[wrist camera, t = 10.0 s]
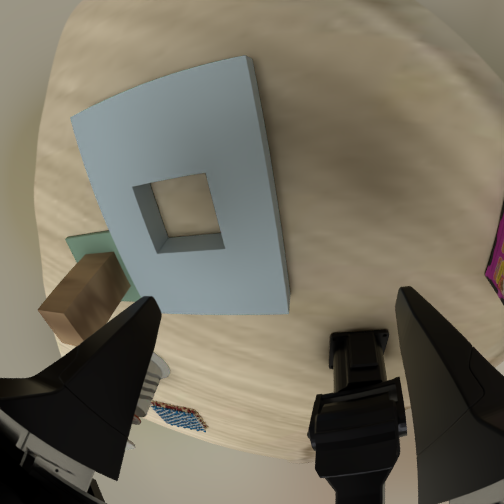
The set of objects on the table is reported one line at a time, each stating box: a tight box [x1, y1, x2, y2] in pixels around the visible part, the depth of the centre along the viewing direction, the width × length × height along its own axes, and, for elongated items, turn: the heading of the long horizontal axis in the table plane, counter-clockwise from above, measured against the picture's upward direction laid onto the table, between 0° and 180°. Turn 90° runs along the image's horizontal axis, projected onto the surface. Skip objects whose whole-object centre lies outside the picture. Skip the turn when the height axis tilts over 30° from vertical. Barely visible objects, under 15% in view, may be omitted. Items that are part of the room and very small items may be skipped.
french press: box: [125, 352, 170, 450], centre depth 28 cm, size 10×12×25 cm
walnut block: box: [38, 252, 131, 346], centre depth 24 cm, size 4×4×9 cm
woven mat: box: [151, 401, 209, 432], centre depth 50 cm, size 10×11×2 cm
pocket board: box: [70, 55, 290, 315], centre depth 21 cm, size 20×14×2 cm
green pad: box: [65, 231, 141, 302], centre depth 28 cm, size 9×9×1 cm
